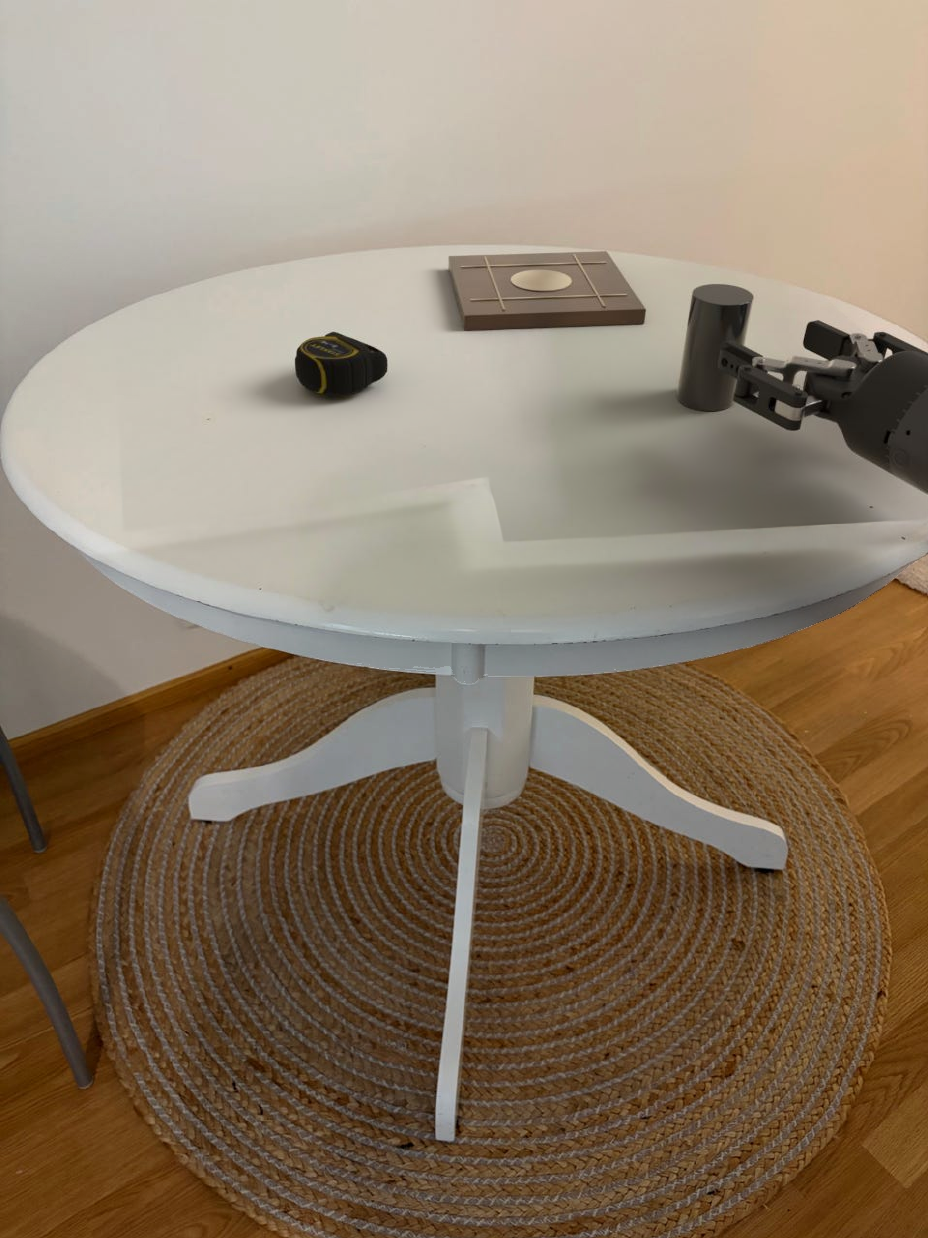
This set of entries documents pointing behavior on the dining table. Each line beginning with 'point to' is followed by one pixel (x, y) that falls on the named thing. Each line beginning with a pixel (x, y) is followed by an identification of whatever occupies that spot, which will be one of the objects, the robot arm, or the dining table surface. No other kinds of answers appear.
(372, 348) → the tape measure
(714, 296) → the canister
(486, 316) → the board
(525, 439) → the dining table surface
